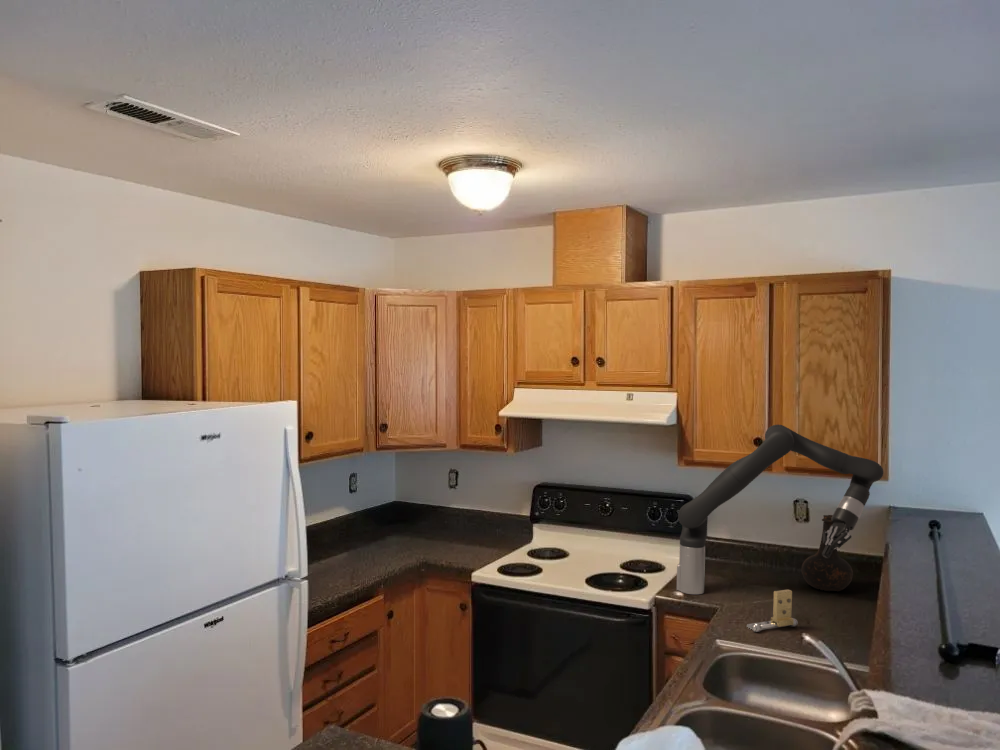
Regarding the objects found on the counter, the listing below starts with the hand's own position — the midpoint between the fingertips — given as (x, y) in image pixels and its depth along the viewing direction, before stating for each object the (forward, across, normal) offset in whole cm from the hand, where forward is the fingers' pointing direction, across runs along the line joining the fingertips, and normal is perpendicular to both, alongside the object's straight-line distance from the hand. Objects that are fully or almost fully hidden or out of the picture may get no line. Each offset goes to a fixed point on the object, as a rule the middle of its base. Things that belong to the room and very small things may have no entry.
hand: (825, 556), depth 250 cm
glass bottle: (-1, +34, -28) cm, 44 cm away
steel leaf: (+30, -1, +5) cm, 31 cm away
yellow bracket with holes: (+27, -2, +3) cm, 28 cm away
